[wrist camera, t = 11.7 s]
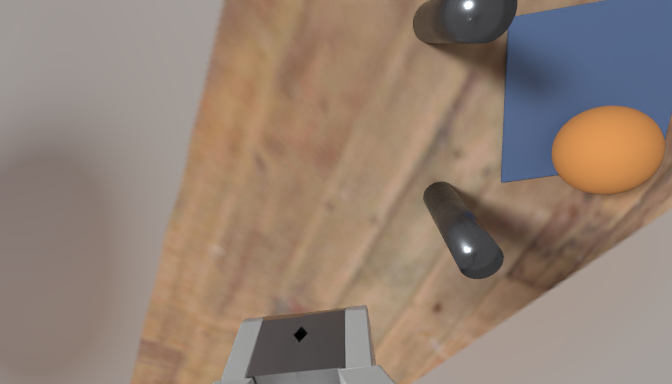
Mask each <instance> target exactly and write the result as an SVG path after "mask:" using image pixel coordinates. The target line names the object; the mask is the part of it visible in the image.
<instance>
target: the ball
mask: <svg viewBox="0 0 672 384" xmlns="http://www.w3.org/2000/svg"><path fill="white" fill-rule="evenodd" d="M664 153H665V140H664V136H663V133H662V131H661V129H660V128H659V126H658V125H657V124H656V123H655V121H654V120H653V119H651V118H650V117H649V116H648V115H646V114H644V113H643V112H641V111H638V110H636V109H633V108H629V107H624V106H612V105H611V106H601V107H596V108H592V109H589V110H586V111H584V112H582V113H580V114H578V115H576V116H574V117H573V118H571V119H570V120H569V121H568V122H566V123H565V124H564V125H563V127H562V128H561V129H560V130H559V132H558V133H557V135H556V137H555V139H554V142H553V145H552V162H553V165H554V167H555V169H556V171H557V173H558V174H559V176H560V177H561V178H562V179H563V180H564V181H565V182H567V183H568V184H570V185H571V186H573V187H575V188H577V189H579V190H582V191H585V192H588V193H594V194H614V193H619V192H624V191H627V190H630V189H632V188H634V187H637V186H638V185H640V184H642V183H643V182H645V181H646V180H647V179H649V178H650V177H651V176H652V175H653V174H654V173H655V172H656V170H657V169H658V167H659V166H660V164H661V162H662V160H663V157H664Z"/></svg>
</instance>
